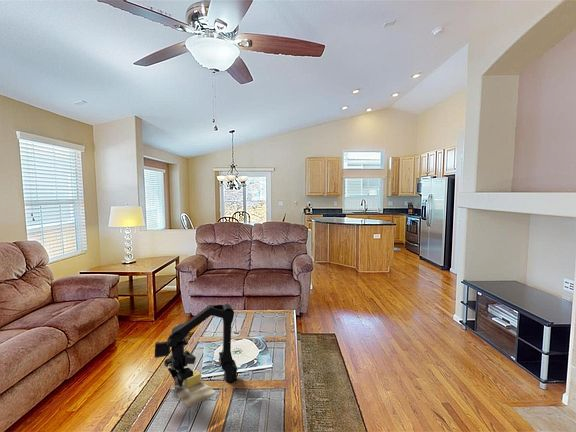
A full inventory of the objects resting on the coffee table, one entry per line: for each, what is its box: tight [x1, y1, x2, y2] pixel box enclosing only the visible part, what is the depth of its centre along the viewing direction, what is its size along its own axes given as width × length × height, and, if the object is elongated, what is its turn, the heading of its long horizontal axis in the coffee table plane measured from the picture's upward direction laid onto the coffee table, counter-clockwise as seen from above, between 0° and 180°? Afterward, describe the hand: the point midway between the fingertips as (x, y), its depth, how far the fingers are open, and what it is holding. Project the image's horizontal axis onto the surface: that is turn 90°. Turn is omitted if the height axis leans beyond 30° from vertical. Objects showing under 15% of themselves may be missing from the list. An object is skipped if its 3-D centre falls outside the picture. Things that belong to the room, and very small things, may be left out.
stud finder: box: [183, 369, 202, 388], centre depth 157 cm, size 4×7×5 cm, turn 134°
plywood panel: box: [169, 379, 217, 408], centre depth 152 cm, size 20×14×1 cm
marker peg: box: [173, 377, 183, 389], centre depth 152 cm, size 4×4×5 cm
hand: (178, 384), depth 152 cm, fingers closed on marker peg, 4 cm apart
